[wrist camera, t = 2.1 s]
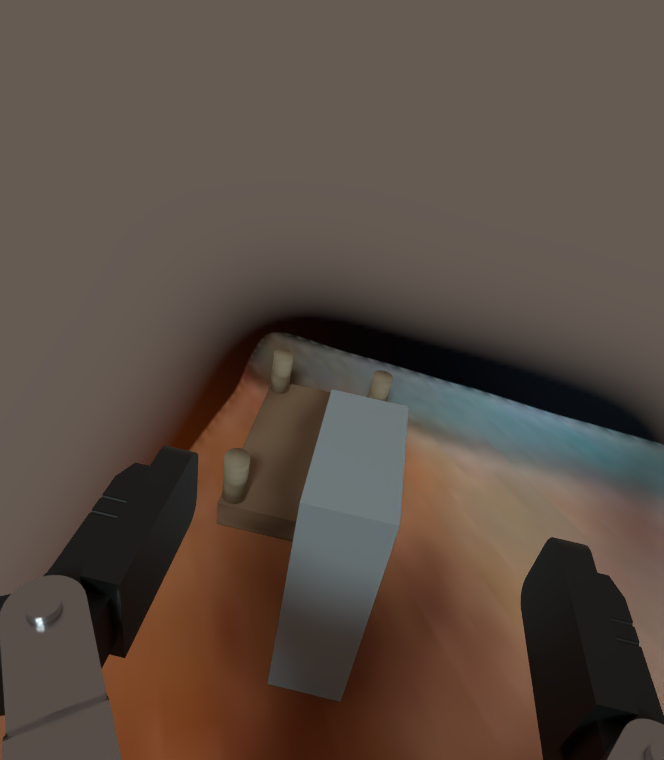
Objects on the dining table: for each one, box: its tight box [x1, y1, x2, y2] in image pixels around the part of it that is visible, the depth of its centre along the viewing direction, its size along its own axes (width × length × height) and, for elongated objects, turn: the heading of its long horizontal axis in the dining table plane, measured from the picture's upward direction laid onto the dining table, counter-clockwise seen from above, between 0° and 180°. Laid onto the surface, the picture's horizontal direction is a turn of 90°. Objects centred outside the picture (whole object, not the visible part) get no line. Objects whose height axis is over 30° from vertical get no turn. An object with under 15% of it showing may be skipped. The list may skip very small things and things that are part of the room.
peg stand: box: [217, 349, 393, 541], centre depth 42 cm, size 10×15×6 cm, turn 171°
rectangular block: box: [267, 390, 409, 702], centre depth 29 cm, size 4×8×14 cm, turn 171°
